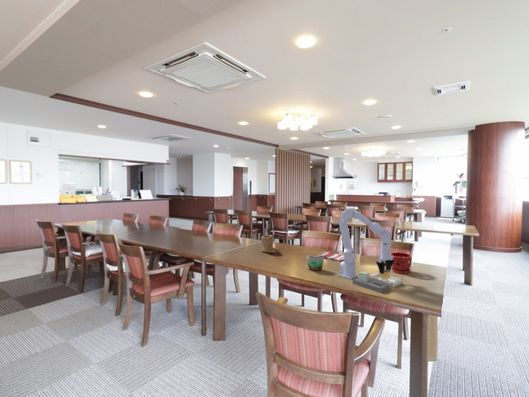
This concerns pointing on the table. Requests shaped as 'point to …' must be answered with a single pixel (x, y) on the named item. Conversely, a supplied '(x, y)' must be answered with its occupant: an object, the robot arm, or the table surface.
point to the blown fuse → (385, 275)
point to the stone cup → (268, 244)
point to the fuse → (363, 276)
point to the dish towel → (333, 256)
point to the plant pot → (401, 262)
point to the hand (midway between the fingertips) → (384, 272)
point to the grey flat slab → (372, 285)
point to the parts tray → (391, 282)
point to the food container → (315, 263)
